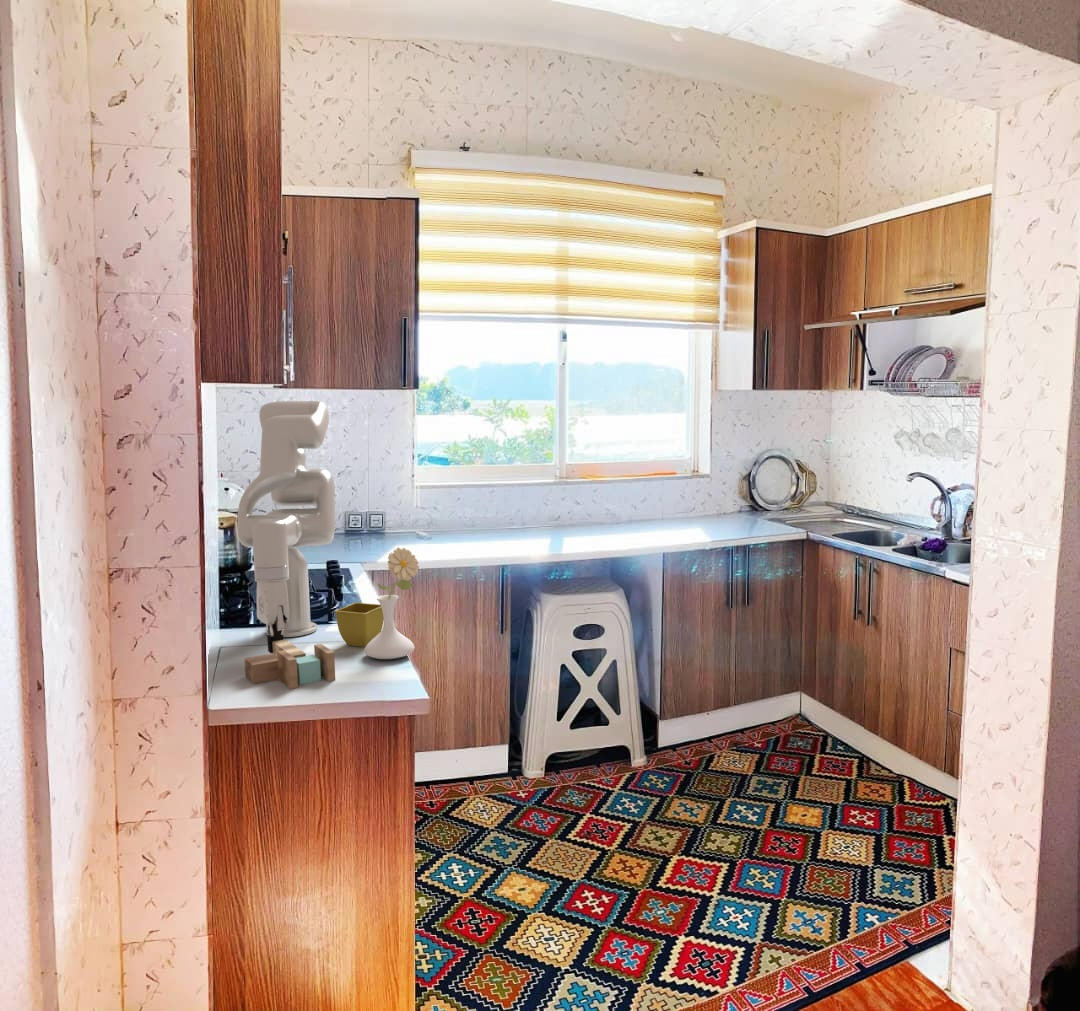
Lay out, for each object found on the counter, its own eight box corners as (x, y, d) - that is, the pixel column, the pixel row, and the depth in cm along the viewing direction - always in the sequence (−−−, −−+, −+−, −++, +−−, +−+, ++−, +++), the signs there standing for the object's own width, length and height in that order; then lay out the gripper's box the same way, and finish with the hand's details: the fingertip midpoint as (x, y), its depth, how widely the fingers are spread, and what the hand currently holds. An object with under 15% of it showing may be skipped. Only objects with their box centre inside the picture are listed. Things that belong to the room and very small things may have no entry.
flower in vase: (370, 666, 189) (365, 554, 186) (360, 652, 199) (355, 547, 196) (427, 658, 194) (423, 549, 191) (415, 646, 204) (411, 542, 201)
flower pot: (367, 650, 201) (365, 613, 200) (335, 647, 205) (334, 610, 203) (387, 640, 209) (385, 604, 208) (356, 637, 213) (355, 602, 212)
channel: (278, 679, 181) (277, 651, 180) (322, 670, 186) (320, 643, 185) (290, 688, 174) (289, 660, 174) (335, 679, 180) (334, 652, 179)
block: (292, 679, 181) (291, 658, 180) (313, 675, 183) (312, 654, 183) (299, 684, 177) (298, 663, 177) (321, 680, 180) (320, 659, 179)
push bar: (273, 660, 195) (272, 641, 194) (286, 658, 196) (285, 639, 196) (292, 676, 183) (291, 655, 183) (306, 673, 185) (305, 653, 184)
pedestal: (245, 676, 183) (244, 658, 182) (273, 671, 186) (272, 653, 186) (253, 683, 178) (252, 665, 178) (282, 678, 181) (281, 659, 181)
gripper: (246, 570, 199) (250, 647, 201) (264, 580, 187) (269, 662, 189) (278, 566, 204) (282, 642, 205) (298, 576, 191) (302, 656, 193)
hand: (276, 651), depth 197 cm, fingers closed
